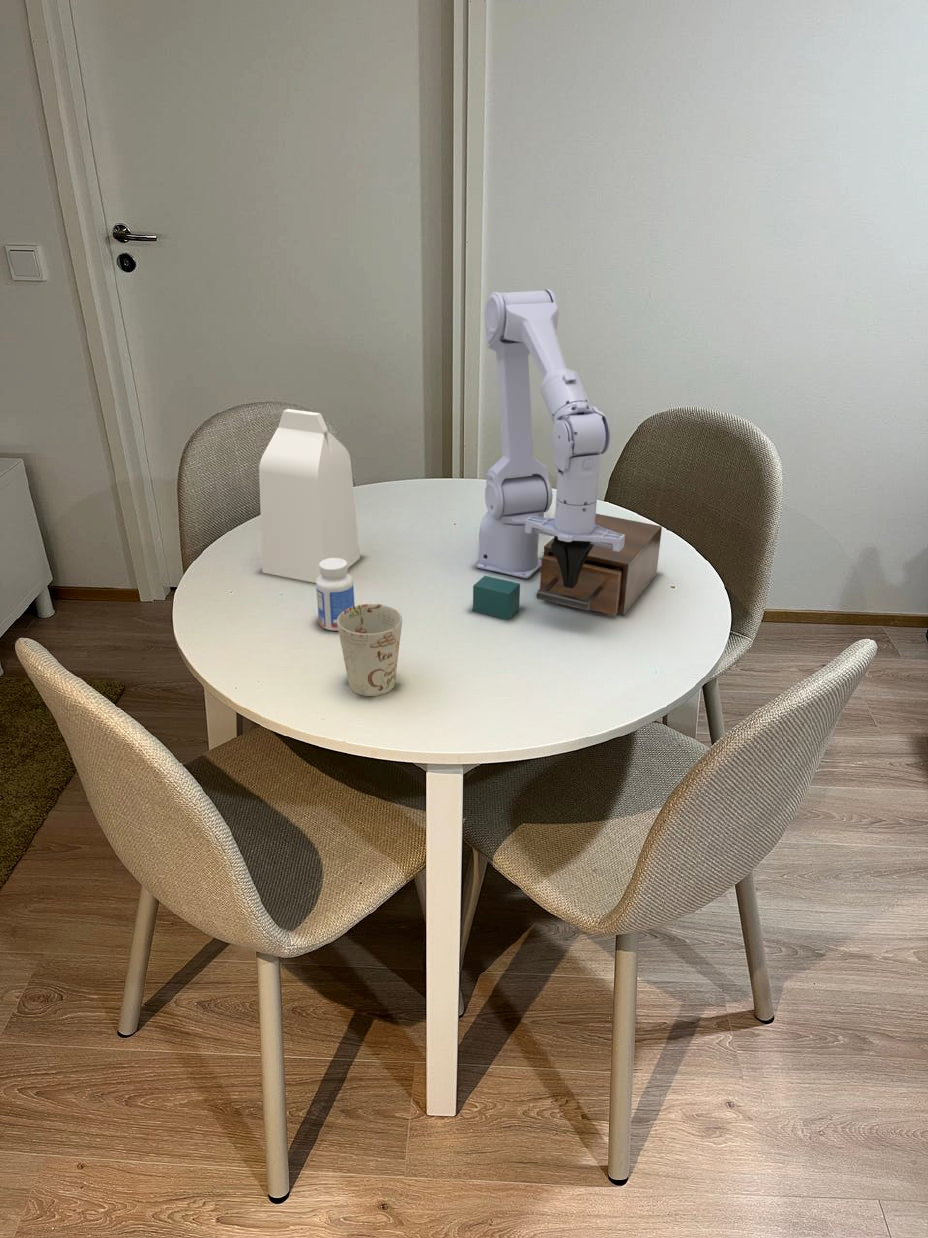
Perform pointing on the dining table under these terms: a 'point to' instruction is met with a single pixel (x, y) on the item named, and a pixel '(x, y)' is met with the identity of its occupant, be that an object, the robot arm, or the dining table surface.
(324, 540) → the milk
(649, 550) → the cabinet
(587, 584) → the drawer
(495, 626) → the dining table surface
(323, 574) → the pill bottle
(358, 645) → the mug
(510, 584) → the tea box
